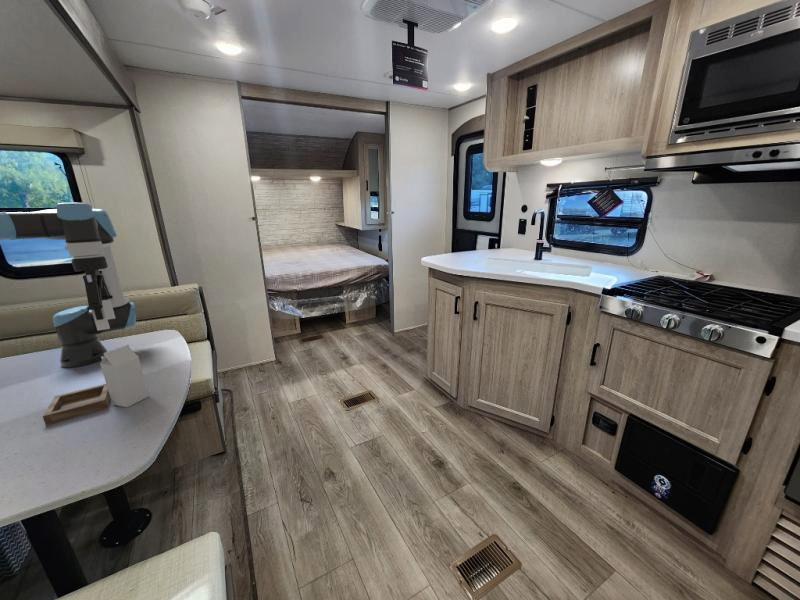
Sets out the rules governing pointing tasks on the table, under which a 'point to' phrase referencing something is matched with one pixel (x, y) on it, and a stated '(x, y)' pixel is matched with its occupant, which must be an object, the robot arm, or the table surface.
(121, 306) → the robot arm
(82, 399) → the square wooden tray
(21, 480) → the table surface
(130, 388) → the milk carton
